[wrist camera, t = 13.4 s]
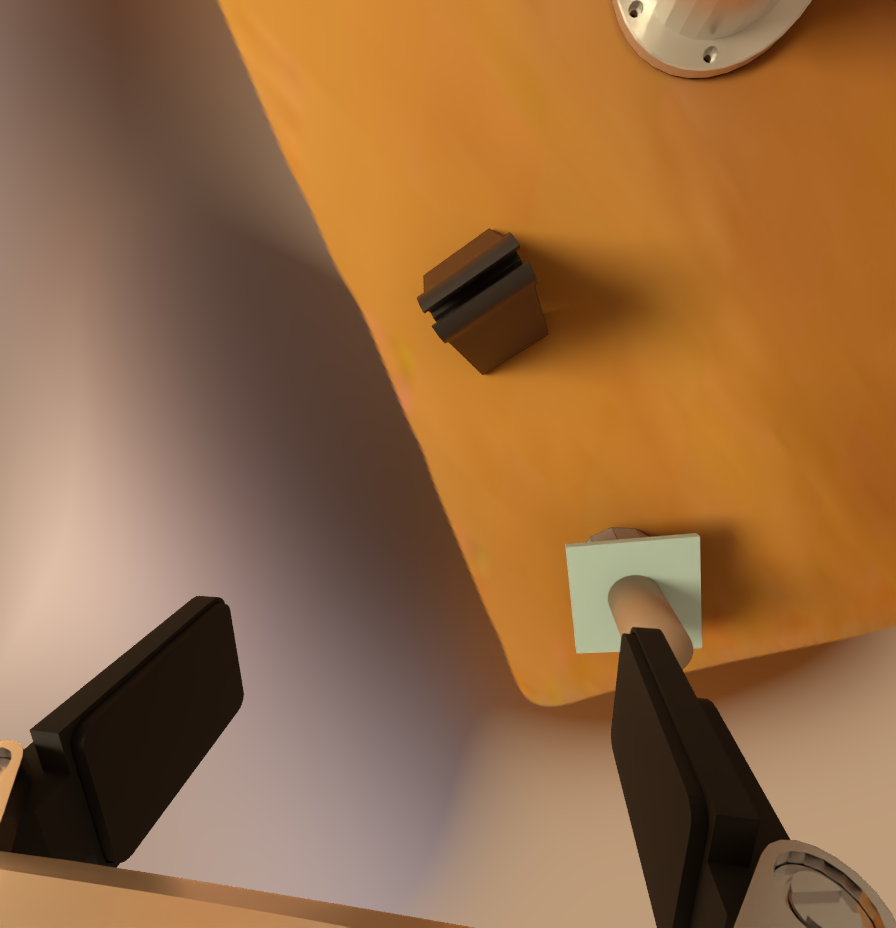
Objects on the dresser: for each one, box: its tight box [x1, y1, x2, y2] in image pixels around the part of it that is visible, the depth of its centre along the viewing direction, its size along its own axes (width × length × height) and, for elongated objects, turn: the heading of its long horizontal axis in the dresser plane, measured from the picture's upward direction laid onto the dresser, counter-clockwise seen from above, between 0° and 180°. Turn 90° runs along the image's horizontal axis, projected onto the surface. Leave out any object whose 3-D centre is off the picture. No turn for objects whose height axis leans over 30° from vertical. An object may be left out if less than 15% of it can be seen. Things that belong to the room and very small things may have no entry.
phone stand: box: [417, 229, 548, 375], centre depth 29 cm, size 9×6×12 cm, turn 32°
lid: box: [565, 533, 702, 669], centre depth 31 cm, size 10×10×7 cm
